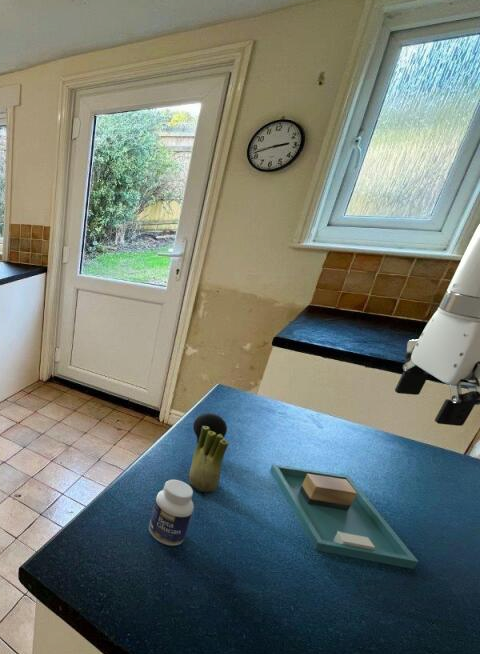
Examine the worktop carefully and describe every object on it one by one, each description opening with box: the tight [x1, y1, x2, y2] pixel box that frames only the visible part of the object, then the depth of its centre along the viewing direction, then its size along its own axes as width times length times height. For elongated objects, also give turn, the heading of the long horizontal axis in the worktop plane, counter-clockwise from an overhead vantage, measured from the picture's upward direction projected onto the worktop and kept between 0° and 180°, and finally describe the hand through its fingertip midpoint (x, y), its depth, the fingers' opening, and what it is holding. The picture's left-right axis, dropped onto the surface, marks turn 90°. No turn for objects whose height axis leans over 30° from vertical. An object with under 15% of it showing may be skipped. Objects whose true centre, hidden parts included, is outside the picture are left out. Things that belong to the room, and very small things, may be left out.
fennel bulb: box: [188, 426, 229, 493], centre depth 76 cm, size 6×5×12 cm
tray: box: [269, 463, 420, 570], centre depth 71 cm, size 13×20×2 cm, turn 164°
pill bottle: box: [148, 479, 195, 547], centre depth 66 cm, size 5×5×10 cm
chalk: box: [333, 532, 375, 550], centre depth 64 cm, size 4×2×2 cm, turn 73°
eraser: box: [300, 474, 357, 511], centre depth 73 cm, size 6×4×4 cm, turn 74°
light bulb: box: [192, 412, 228, 444], centre depth 84 cm, size 6×6×10 cm
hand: (425, 407), depth 67 cm, fingers open, 9 cm apart
